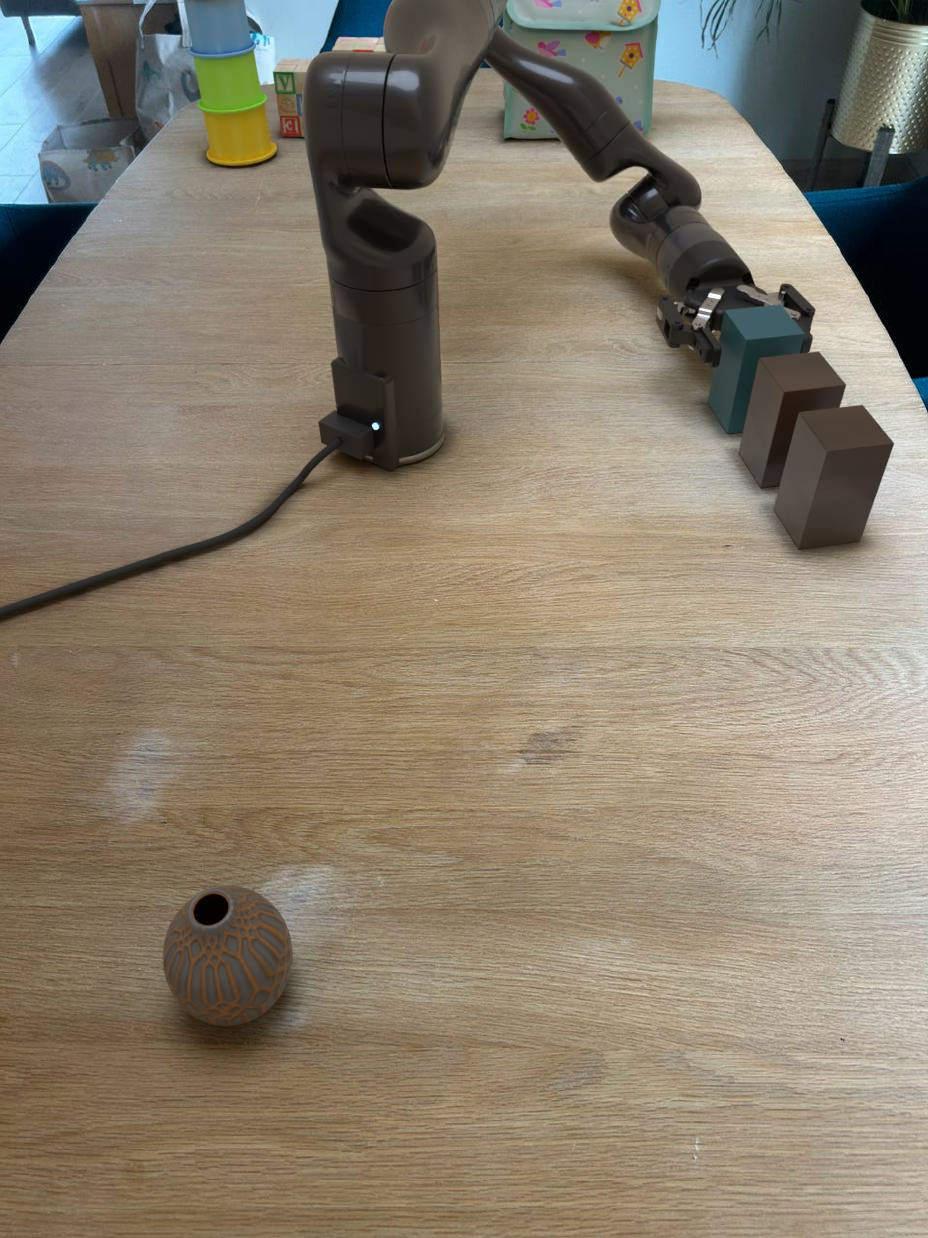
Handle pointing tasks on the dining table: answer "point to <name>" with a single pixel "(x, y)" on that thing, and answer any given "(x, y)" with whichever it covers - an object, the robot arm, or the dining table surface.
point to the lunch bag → (587, 53)
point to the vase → (227, 955)
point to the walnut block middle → (784, 409)
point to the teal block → (748, 357)
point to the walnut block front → (832, 476)
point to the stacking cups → (228, 82)
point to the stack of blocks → (293, 75)
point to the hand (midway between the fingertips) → (761, 354)
